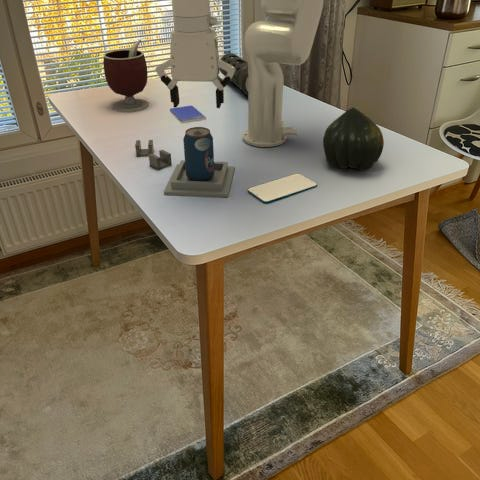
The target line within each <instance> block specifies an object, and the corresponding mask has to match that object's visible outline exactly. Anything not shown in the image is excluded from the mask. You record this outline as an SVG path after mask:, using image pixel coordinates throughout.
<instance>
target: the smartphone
mask: <svg viewBox="0 0 480 480" xmlns="http://www.w3.org/2000/svg"><path fill="white" fill-rule="evenodd" d="M317 187H318V183H317V182H315V181H313V180H311V179H310V178H308V177H307V176H305V175H303V174H301V173H293V174H290V175H286V176H284V177H280V178H278V179H274V180H271V181H267V182H264V183H260V184H258V185H254V186H251V187H249V188H248V187H247V193H248V194H249V195H250V196H252V197H253V198H255V199H256V200H257V201H259V202H260V203H262V204H265V205H268V204H272V203H275V202H277V201H281V200H283V199H286V198H289V197H292V196H295V195H298V194H300V193H303V192H306V191H309V190H312V189H315V188H317Z"/></svg>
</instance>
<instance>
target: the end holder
mask: <svg viewBox="0 0 480 480" xmlns="http://www.w3.org/2000/svg"><path fill="white" fill-rule="evenodd" d="M235 167H236V166H234V165H229V162H228V161H214V175H213V177H212V179H211V180H210V181H208V182H204V181H190V180H189V178H188V177H187V176H186V168H185V159H184V160H180V162H179V163H177V164H176V166H175V167H174V170H173V172H172V174H171V176H170V178H169V180H168V181H167V185H166V186H165V189H164V191H163V194H164V196H183V197H184V196H185V197H186V196H187V197H203V198H204V197H205V198H229V193H230V189H231V185H232V182H233V177H234V172H235V169H236V168H235Z"/></svg>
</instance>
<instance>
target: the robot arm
mask: <svg viewBox="0 0 480 480" xmlns="http://www.w3.org/2000/svg"><path fill="white" fill-rule="evenodd" d="M260 3H261V4H260V7H261V12H262V13H263V15H265V16H266V17H269V18H271V19H276V20H281V21H282V20H284V21H290V22H291V21H292V22H294V23H286V22H285V23H284V22H280V21H273V20H259V21H255V22H253V23H251V24H250V25H249V26H248V27H247V28H246V31H245V33H244V49H245V53H246V60H247V62H248V78H249V79H248V95H247V96H248V97H247V99H248V106H247V107H248V113H247V116H248V117H247V118H248V121H247V122H248V126H247V129H248V130H246V131H245V132H243V134H242V139H243V141H244V142H245V143H246V144H247V145H250V146H254V147H256V148H257V147H258V148H271V147H277V146H279V145H282V144H285V142H286V141H287V136H290V137H291V136H294V137H297V136H298V128H294V127H293V126H290V125H289V126H286V125H284V124H283V122H284V121H283V99H284V98H283V97H284V95H283V94H284V74H283V70H282V68H281V65H280V64H283V65H284V64H285V65H289V66H300V65H302V64H304V63H305V62H307V59H308V58H309V56H310V53H311V50H312V48H313V44H314V41H315V37H316V33H317V31H318V26H319V23H320V19H321V16H322V12H323V9H324V0H261V2H260ZM171 7H172V18H173V29H172V30H171V33H170V43H169V44H170V46H169V47H170V50H169V51H170V53H169V54H170V57H169V59H168V60H166V61H165V62H164V61H163V63H161V64H158V65H157V66H156V67H155V69H154V70H155V72H156V74H157V75H158V77H159V78H160V81H161V82H162V83H163V84H164V85H165V86H166V87H167V89H168V90H169V94H170V95H169V96H170V102H171V103H172V104H173V108H178V106H179V105H180V94H179V93H180V91H179V86H178V85H177V84H178V83H179V82H194V83H195V82H203V83H204V82H206V83H207V82H212V84H213V85H214V86H215V87H216V90H215V104H216V108H217V109H220V108H221V106H222V104H224V101H225V100H224V99H225V97H224V95H225V93H224V92H225V91H224V89H225V88H226V87H227V86H228V84H229V83H231V82H232V81H231V78H232V76H233V74H234V72H235V70H236V69H235V67H233V66H231V65H230V64H228V63H226V62H224V61H222V60H220V59H221V58H220V53H219V44H218V40H217V39H218V38H217V35H216V30H215V29H214V28H212V27H214V26H218V24H219V23H218V21H219V19H218V17H214V16H212V13H211V4H210V0H171ZM169 68H170V73H171V75H170V76H171V77H172V78H170V76H168V75H167V74H166V72H165V70H167V69H169ZM220 68H222V69H223V70H225V71H227V76H226V77H225V76H224V78H221V76H220V73H221V72H220Z"/></svg>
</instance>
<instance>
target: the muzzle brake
mask: <svg viewBox="0 0 480 480" xmlns="http://www.w3.org/2000/svg"><path fill="white" fill-rule="evenodd" d="M219 59H220V60H222V61H224V62H226V63H228V64H230V65H231V66H233V67H235V69H236V70H235V72H234V74H233V76H232V78H231V81H230V82H232V83H233V84H234V85H236V86H237V87H238V88H239V89H240V90H241V91H242V92H243V93H244V94H246V95H247V96H248V79H249V78H248V61H246V60H245V59H243V58H242V57H240V55H239V56H238V55H237V54H236V53H233V52H227V53H225V54H223V55H222V57H221V58H219ZM220 73H221V75H223V76H224V78H225V77H226V76H227V71H225V70H223V69H222V68H220Z"/></svg>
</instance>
